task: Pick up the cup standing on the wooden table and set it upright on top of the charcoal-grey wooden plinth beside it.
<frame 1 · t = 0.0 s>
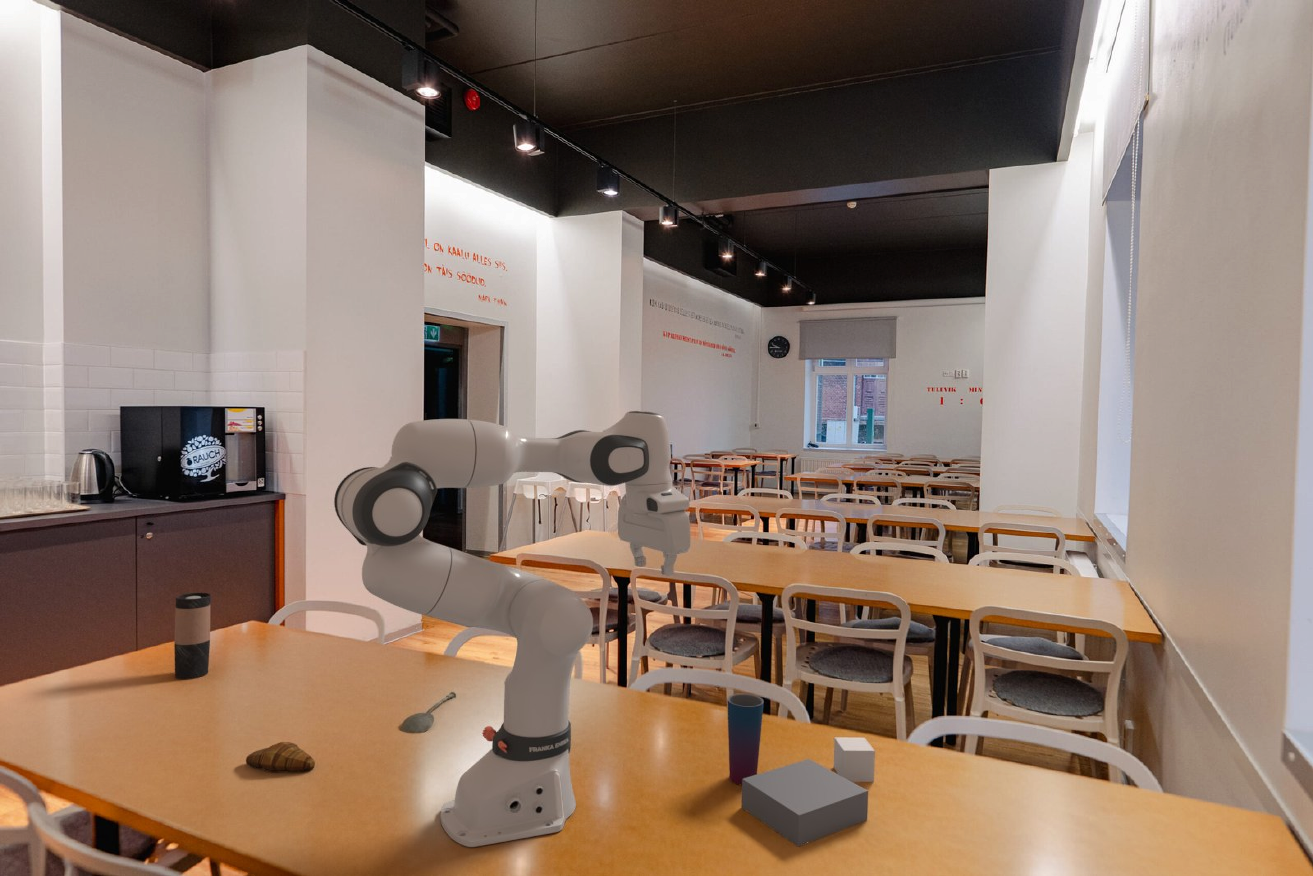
hand: (653, 570, 139), 39 cm above the table, tool pointing down, fingers open, 8 cm apart
cup: (742, 780, 139), on the table
croissant: (280, 769, 139), on the table
white cube: (853, 775, 143), on the table
plinth: (803, 813, 127), on the table
soupspoon: (433, 716, 166), on the table
travel mug: (191, 675, 187), on the table
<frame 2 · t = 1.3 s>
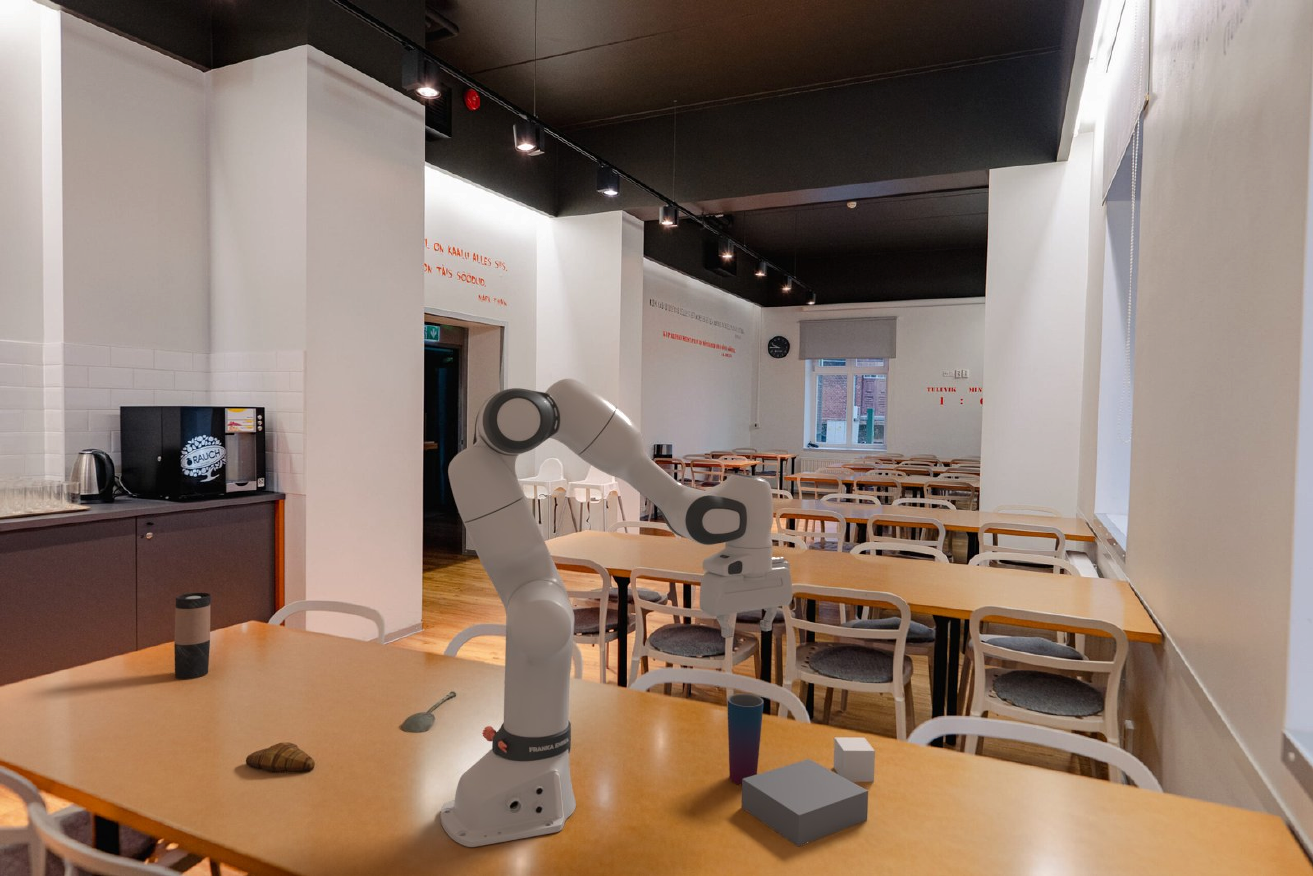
hand: (746, 633, 139), 27 cm above the table, tool pointing down, fingers open, 8 cm apart
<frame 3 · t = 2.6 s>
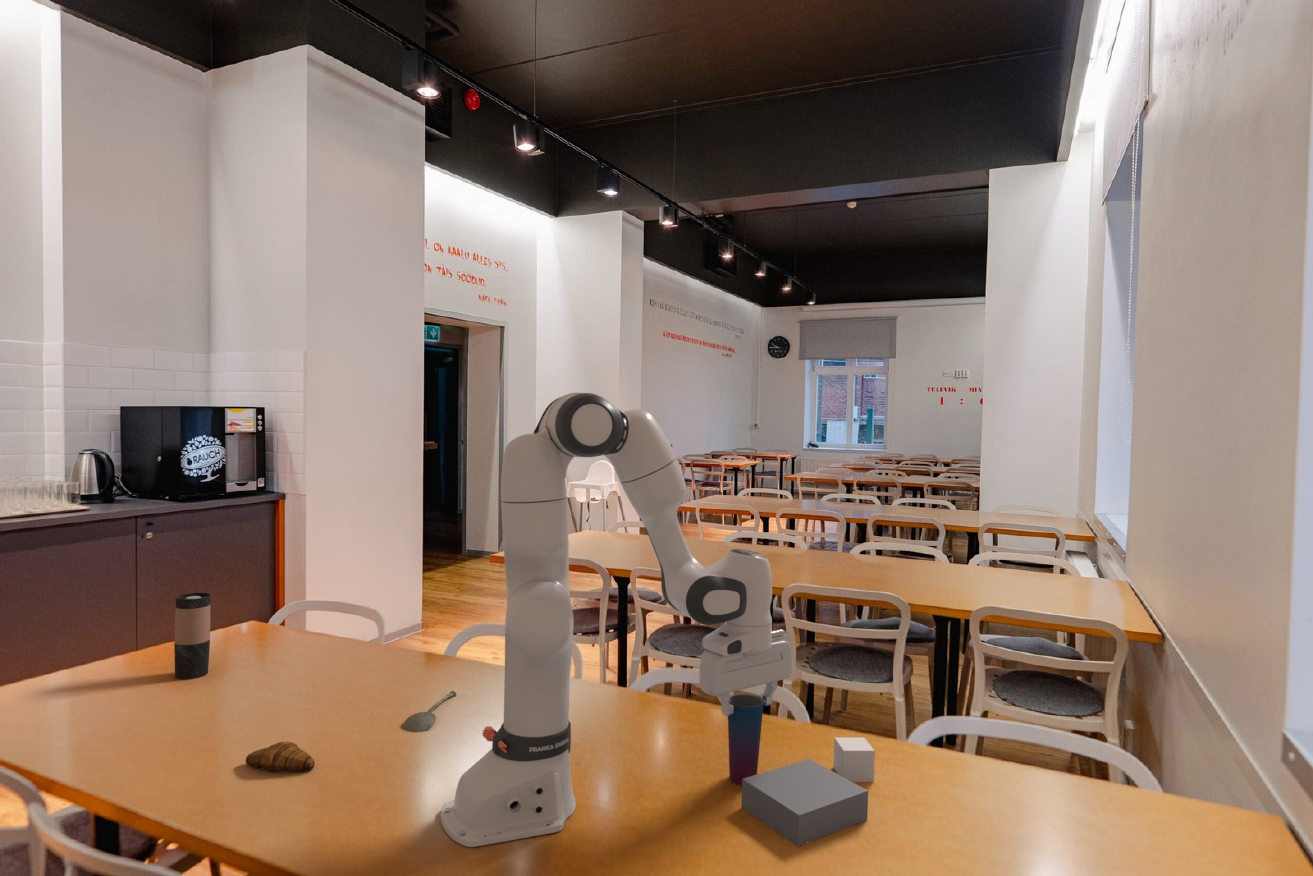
hand: (747, 709, 139), 13 cm above the table, tool pointing down, fingers open, 8 cm apart
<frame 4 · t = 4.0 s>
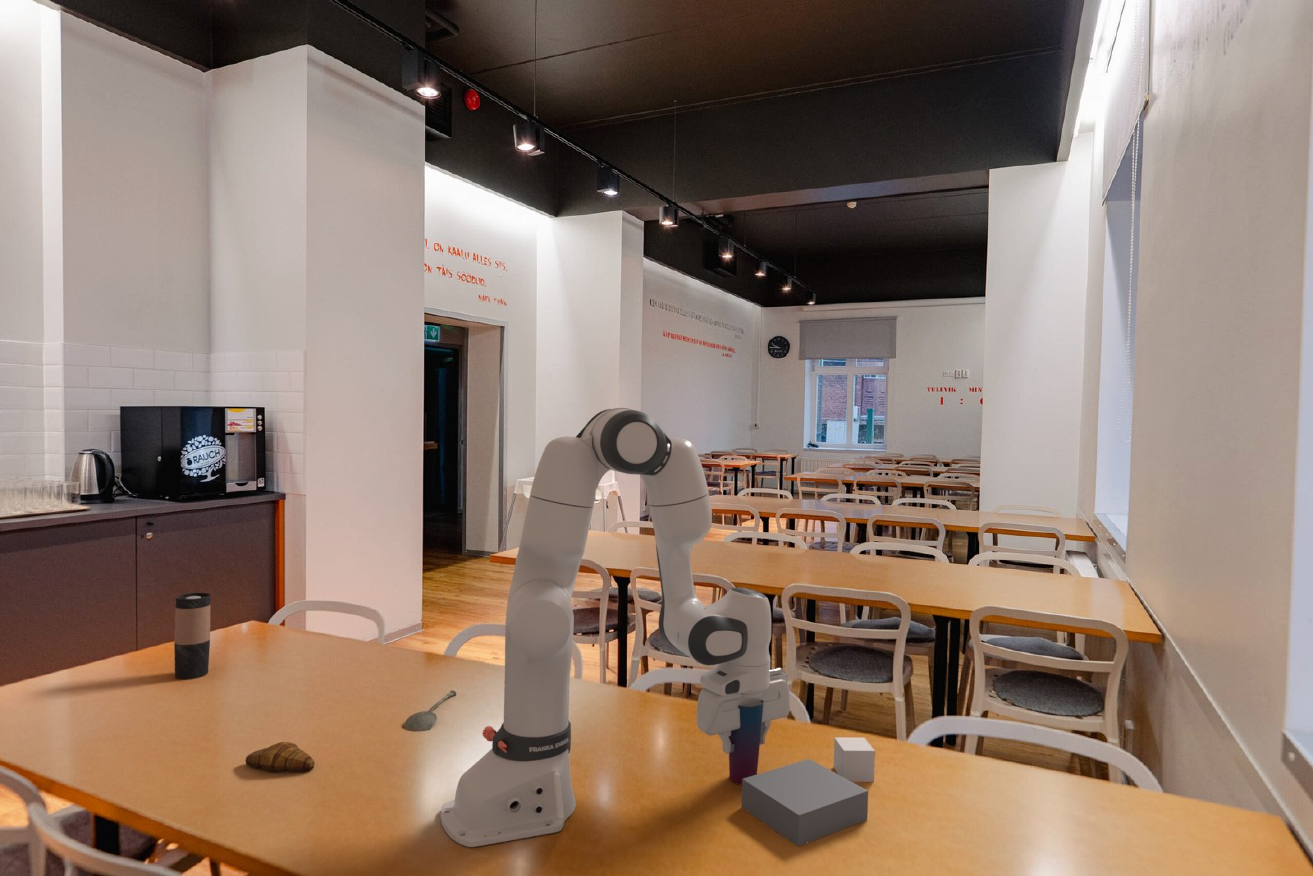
hand: (743, 748, 139), 6 cm above the table, tool pointing down, fingers closed on cup, 6 cm apart
cup: (742, 780, 139), on the table, touching gripper
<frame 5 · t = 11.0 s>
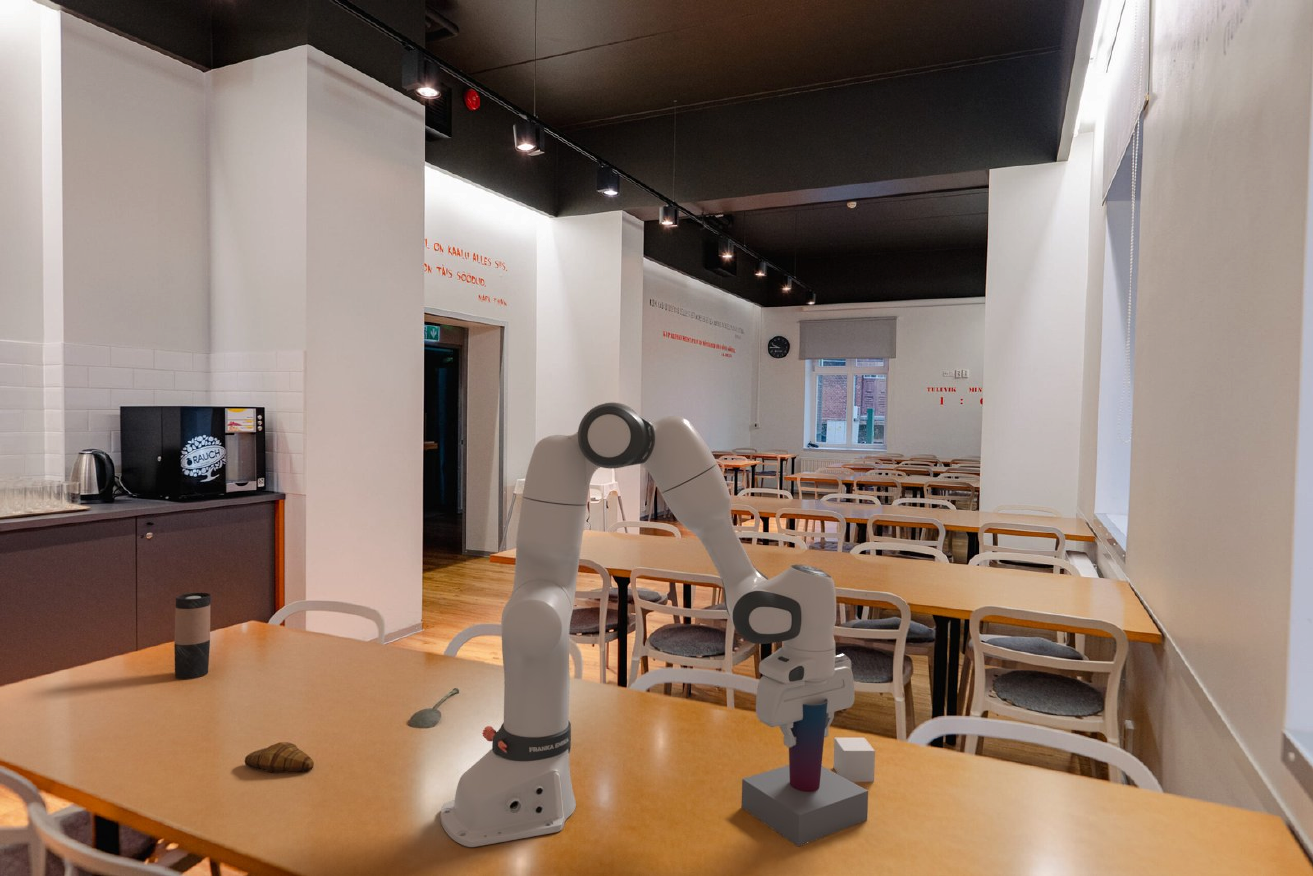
hand: (806, 741, 127), 13 cm above the table, tool pointing down, fingers closed on cup, 6 cm apart
cup: (804, 786, 127), point 5 cm above the table, touching gripper, plinth
soupspoon: (438, 712, 169), on the table
everything else where it was.
when the fingers open (12 cm above the table, at t = 11.9 s): cup stays where it is, resting on plinth.
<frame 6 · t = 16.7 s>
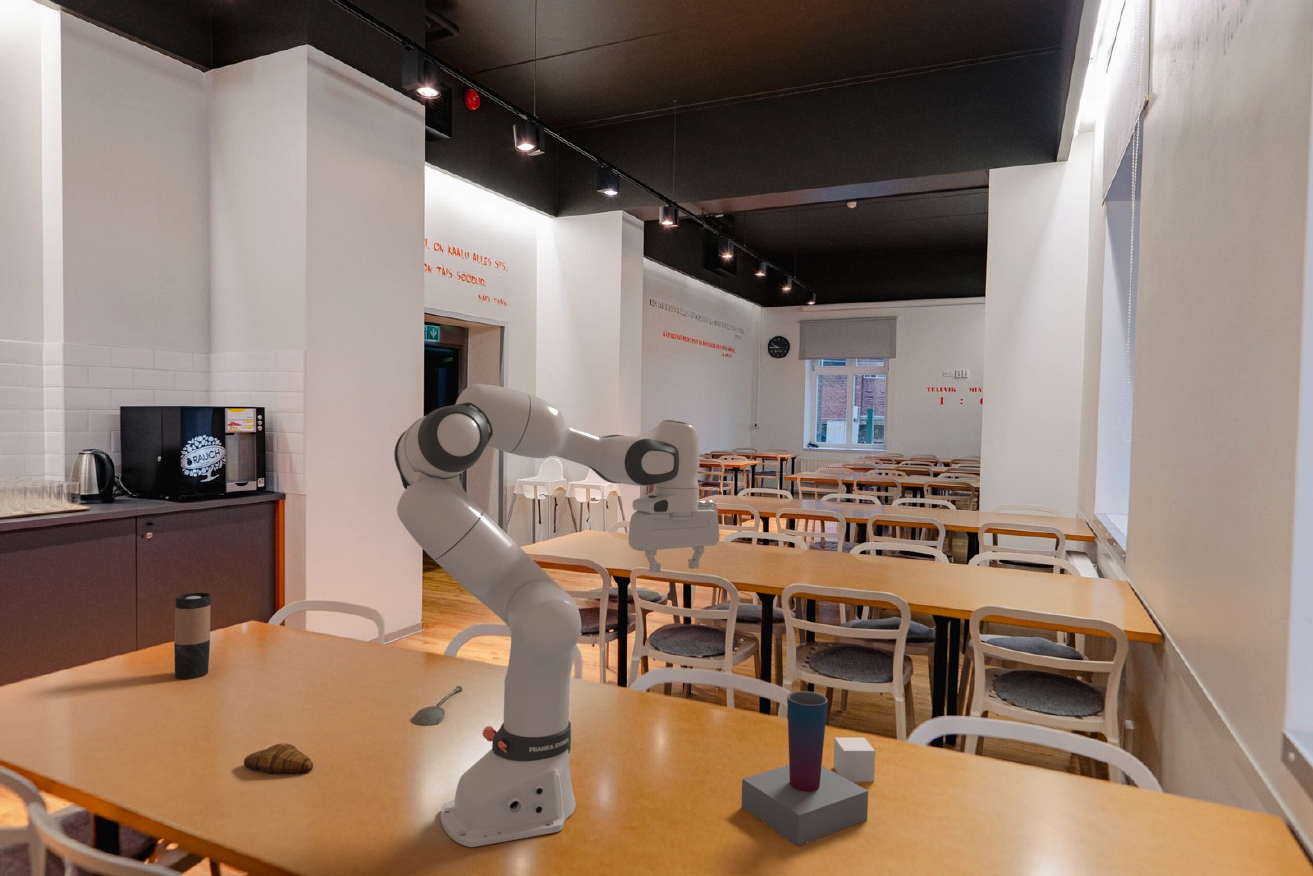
hand: (674, 570, 149), 37 cm above the table, tool pointing down, fingers open, 8 cm apart
cup: (804, 786, 127), point 5 cm above the table, touching plinth
soupspoon: (442, 710, 170), on the table
everything else where it was.
at the end: cup inside the target area on the plinth (0.0 cm from its centre), point 4.8 cm above the plinth's base; cup tilted 0°; the gripper is holding nothing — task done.
